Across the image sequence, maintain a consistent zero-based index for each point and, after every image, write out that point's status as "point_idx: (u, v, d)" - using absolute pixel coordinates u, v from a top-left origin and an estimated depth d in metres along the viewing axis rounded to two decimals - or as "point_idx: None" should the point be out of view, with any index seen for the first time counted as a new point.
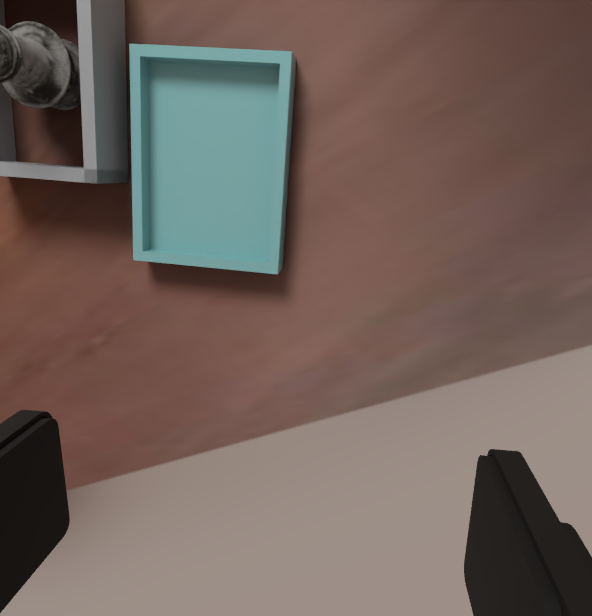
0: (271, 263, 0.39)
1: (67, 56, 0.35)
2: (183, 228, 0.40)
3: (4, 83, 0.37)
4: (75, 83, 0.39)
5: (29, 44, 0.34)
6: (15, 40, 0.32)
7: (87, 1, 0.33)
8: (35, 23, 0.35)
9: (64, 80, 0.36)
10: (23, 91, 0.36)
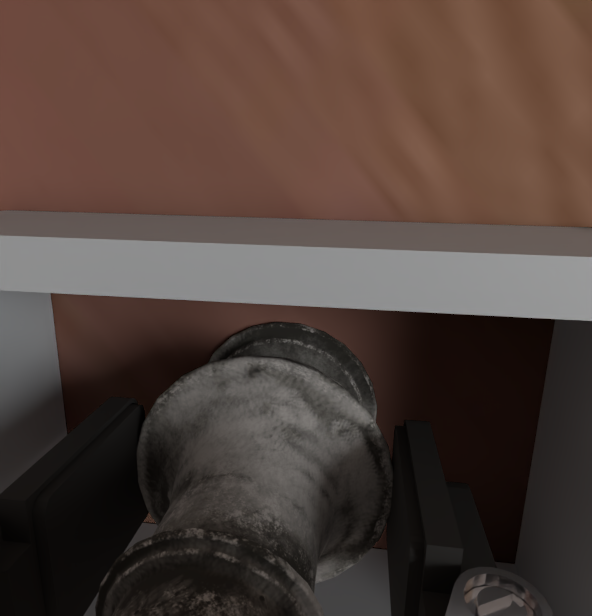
0: None
1: None
2: None
3: (196, 382, 0.10)
4: None
5: None
6: None
7: None
8: (385, 515, 0.11)
9: None
10: (169, 469, 0.10)
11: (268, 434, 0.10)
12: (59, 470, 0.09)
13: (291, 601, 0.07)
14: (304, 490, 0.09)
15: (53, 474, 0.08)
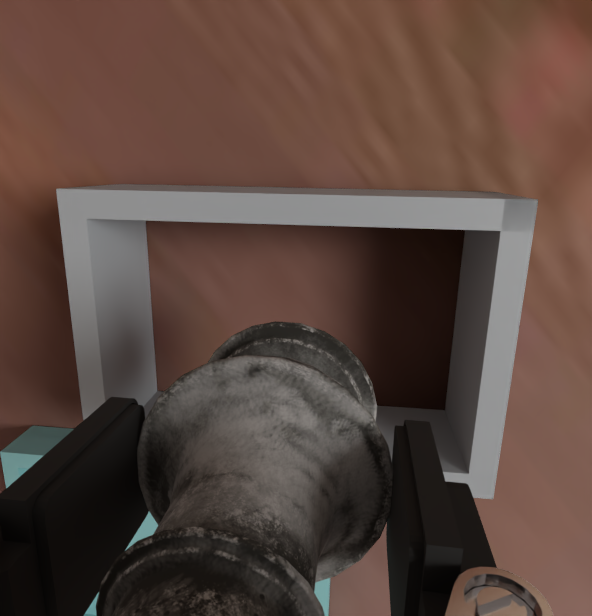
0: None
1: None
2: None
3: (196, 381, 0.10)
4: None
5: None
6: None
7: None
8: (385, 514, 0.11)
9: None
10: (169, 468, 0.10)
11: (268, 433, 0.10)
12: (59, 470, 0.09)
13: (291, 600, 0.07)
14: (305, 489, 0.09)
15: (53, 474, 0.08)
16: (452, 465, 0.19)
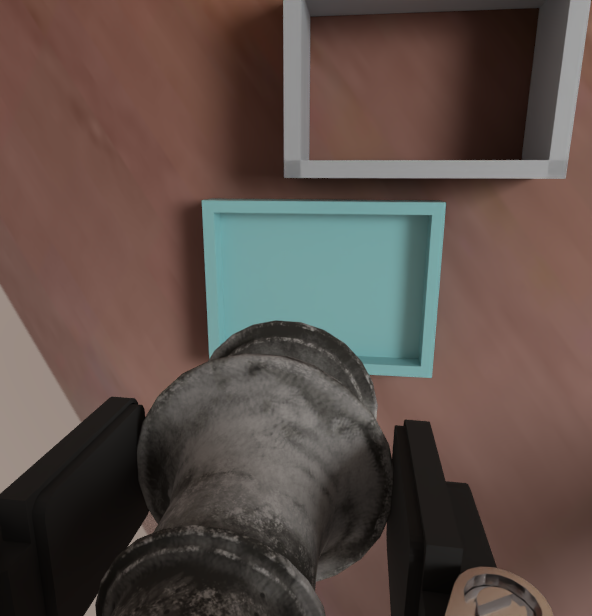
0: None
1: None
2: (247, 251, 0.35)
3: (196, 380, 0.10)
4: None
5: None
6: None
7: (489, 174, 0.28)
8: (386, 513, 0.11)
9: None
10: (169, 467, 0.10)
11: (268, 433, 0.10)
12: (59, 470, 0.09)
13: (292, 599, 0.07)
14: (305, 487, 0.09)
15: (53, 474, 0.08)
16: None
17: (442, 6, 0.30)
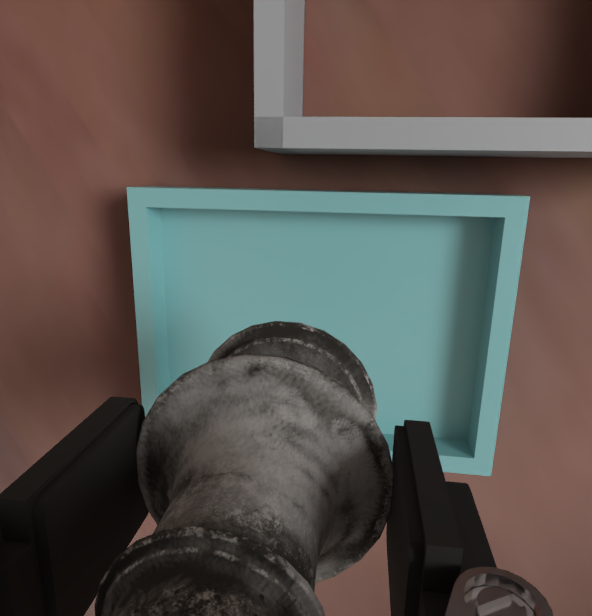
0: None
1: None
2: (203, 269, 0.22)
3: (196, 380, 0.10)
4: None
5: None
6: None
7: None
8: (385, 514, 0.11)
9: None
10: (168, 468, 0.10)
11: (268, 433, 0.10)
12: (59, 470, 0.09)
13: (291, 600, 0.07)
14: (305, 488, 0.09)
15: (53, 474, 0.08)
16: None
17: None
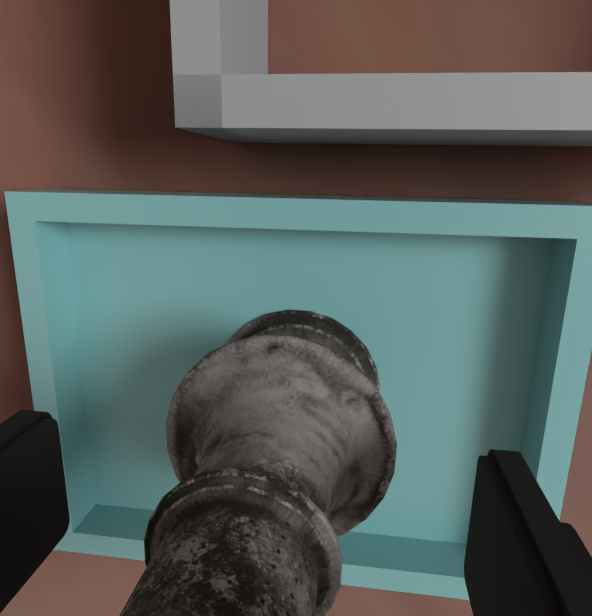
0: (73, 538, 0.17)
1: None
2: (130, 308, 0.16)
3: (221, 357, 0.12)
4: None
5: None
6: None
7: None
8: (388, 476, 0.12)
9: None
10: (197, 435, 0.12)
11: (286, 401, 0.11)
12: None
13: (311, 528, 0.08)
14: (319, 448, 0.10)
15: None
16: None
17: None
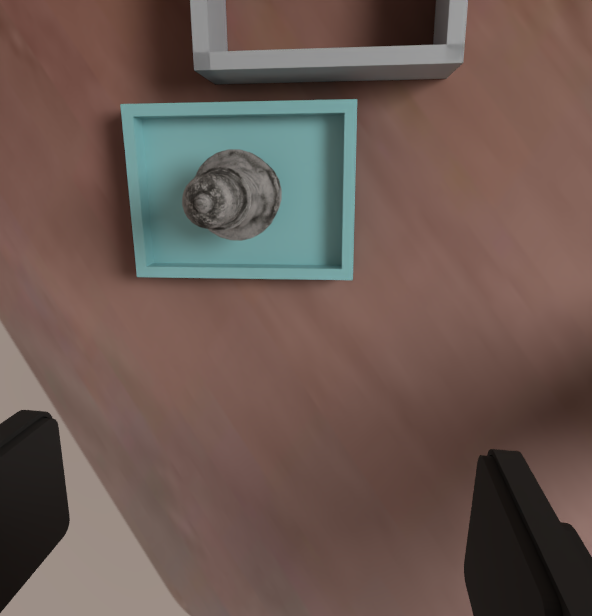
0: (146, 269, 0.36)
1: (247, 238, 0.33)
2: (170, 160, 0.35)
3: (212, 159, 0.32)
4: None
5: None
6: (235, 225, 0.29)
7: (391, 60, 0.29)
8: (277, 203, 0.32)
9: (223, 234, 0.33)
10: None
11: (236, 169, 0.31)
12: None
13: (240, 181, 0.28)
14: (247, 180, 0.30)
15: None
16: None
17: None
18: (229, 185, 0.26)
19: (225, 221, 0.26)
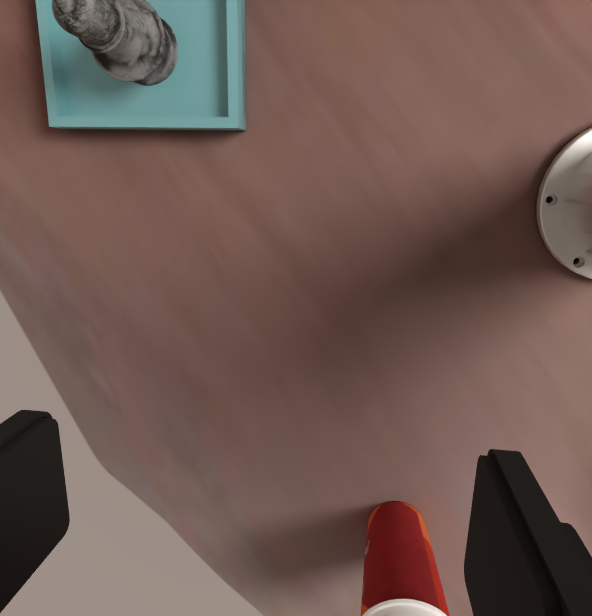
0: (57, 119, 0.40)
1: (137, 78, 0.36)
2: None
3: None
4: None
5: (130, 47, 0.34)
6: (112, 47, 0.32)
7: None
8: (162, 44, 0.36)
9: (116, 74, 0.36)
10: None
11: (122, 8, 0.35)
12: None
13: (114, 3, 0.32)
14: (130, 15, 0.34)
15: None
16: None
17: None
18: None
19: (89, 26, 0.30)
